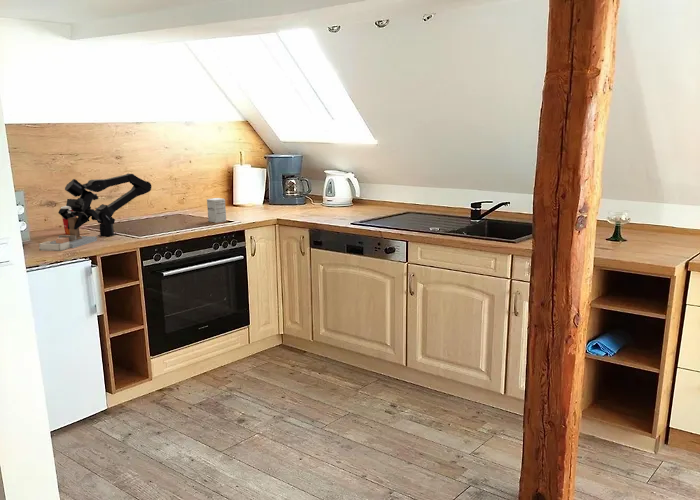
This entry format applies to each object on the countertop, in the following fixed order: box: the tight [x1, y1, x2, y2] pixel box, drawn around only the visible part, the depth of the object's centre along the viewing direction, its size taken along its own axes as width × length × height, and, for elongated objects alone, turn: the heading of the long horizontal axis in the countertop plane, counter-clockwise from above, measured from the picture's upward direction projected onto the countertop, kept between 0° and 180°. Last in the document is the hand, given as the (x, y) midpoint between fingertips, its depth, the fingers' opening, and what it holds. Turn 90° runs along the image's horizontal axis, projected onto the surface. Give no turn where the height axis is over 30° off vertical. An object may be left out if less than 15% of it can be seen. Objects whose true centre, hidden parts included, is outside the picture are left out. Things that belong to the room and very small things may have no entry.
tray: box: [38, 240, 71, 252], centre depth 279 cm, size 6×11×3 cm, turn 75°
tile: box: [55, 237, 69, 243], centre depth 284 cm, size 4×4×2 cm
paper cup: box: [60, 205, 77, 235], centre depth 315 cm, size 8×8×14 cm
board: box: [50, 235, 98, 249], centre depth 291 cm, size 17×14×2 cm
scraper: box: [57, 216, 82, 241], centre depth 290 cm, size 7×9×10 cm
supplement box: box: [206, 197, 227, 224], centre depth 341 cm, size 7×7×13 cm
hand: (71, 229), depth 290 cm, fingers closed on scraper, 3 cm apart
